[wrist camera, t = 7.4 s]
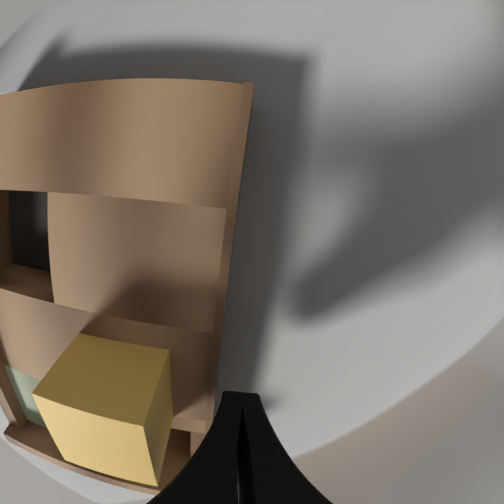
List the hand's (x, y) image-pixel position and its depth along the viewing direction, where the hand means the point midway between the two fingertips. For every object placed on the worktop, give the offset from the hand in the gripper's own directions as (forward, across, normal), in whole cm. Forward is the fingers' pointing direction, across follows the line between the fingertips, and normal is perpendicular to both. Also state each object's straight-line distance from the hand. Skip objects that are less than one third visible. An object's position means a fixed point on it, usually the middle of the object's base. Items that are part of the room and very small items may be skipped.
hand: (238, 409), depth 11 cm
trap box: (+4, +8, -2) cm, 9 cm away
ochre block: (+1, +5, 0) cm, 5 cm away
